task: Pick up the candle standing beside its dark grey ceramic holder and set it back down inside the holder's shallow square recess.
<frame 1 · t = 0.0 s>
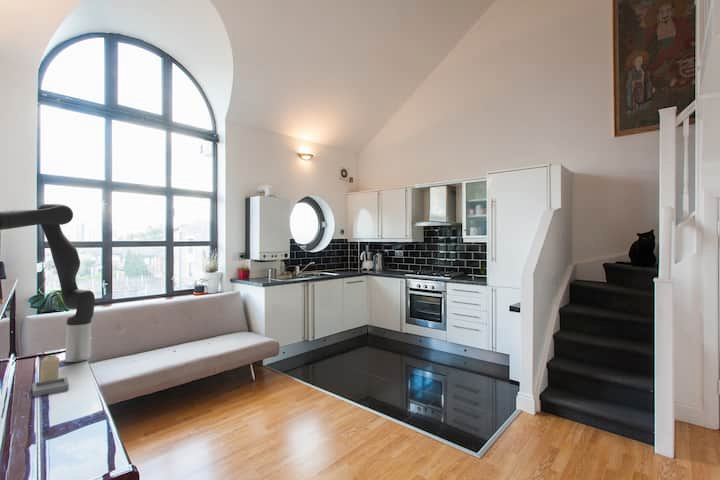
candle: (49, 381, 143), on the table
holder: (50, 389, 135), on the table
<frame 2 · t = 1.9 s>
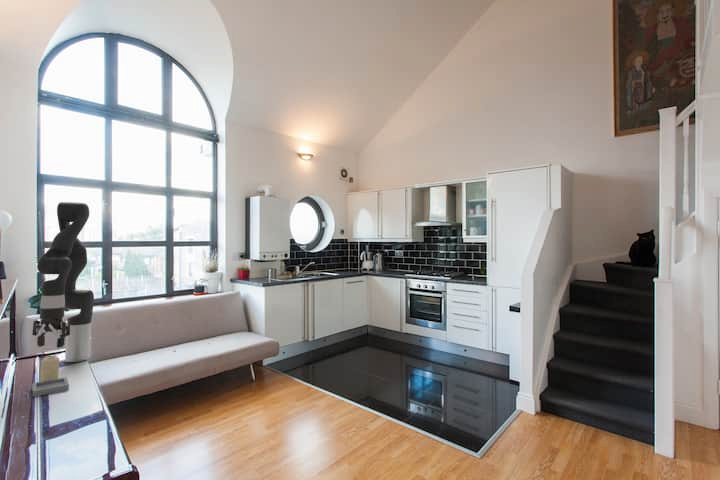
hand: (50, 346, 143), 14 cm above the table, tool pointing down, fingers open, 8 cm apart
nothing on the table moved.
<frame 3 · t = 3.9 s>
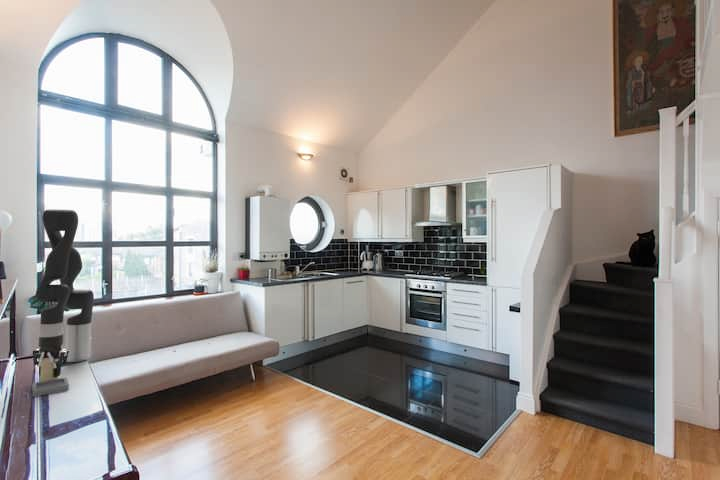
hand: (49, 376, 143), 2 cm above the table, tool pointing down, fingers closed on candle, 5 cm apart
candle: (49, 381, 143), on the table, touching gripper
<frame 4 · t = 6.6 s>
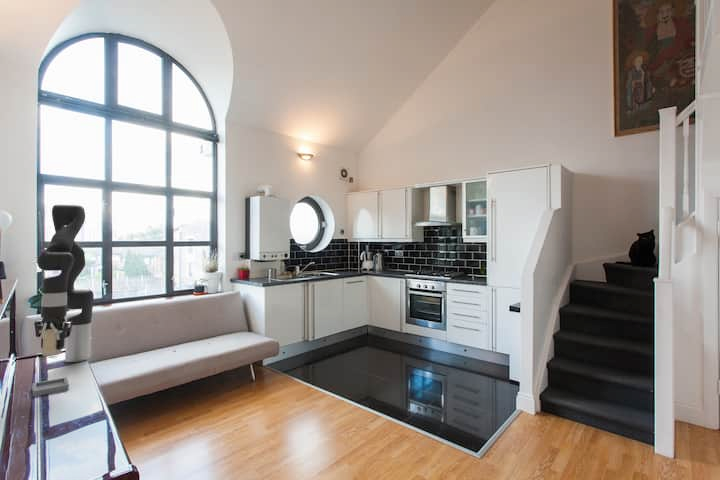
hand: (52, 348, 136), 15 cm above the table, tool pointing down, fingers closed on candle, 5 cm apart
candle: (51, 354, 136), point 13 cm above the table, touching gripper
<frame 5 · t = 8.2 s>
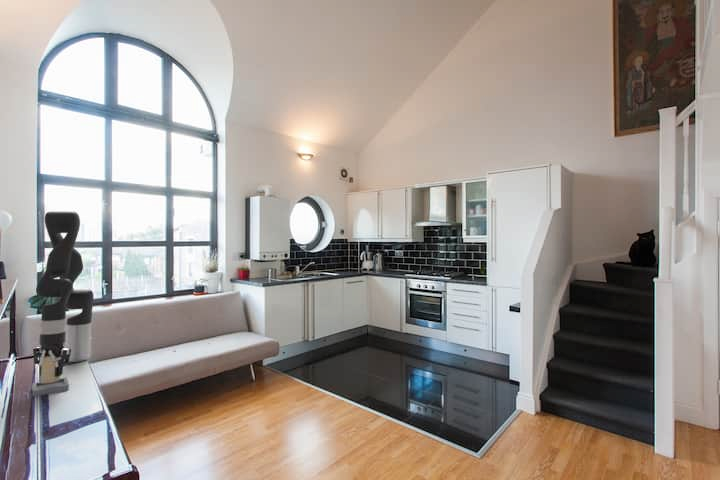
hand: (50, 375, 135), 5 cm above the table, tool pointing down, fingers closed on candle, 5 cm apart
candle: (50, 381, 135), point 3 cm above the table, touching gripper
when the fingers open (4 cm above the table, at t = 9.3 s): candle drops 1 cm, resting on holder.
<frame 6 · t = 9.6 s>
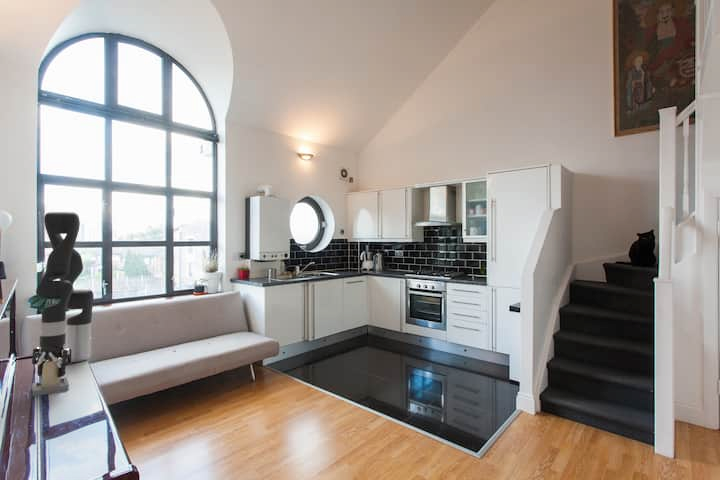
hand: (51, 375, 135), 5 cm above the table, tool pointing down, fingers open, 8 cm apart
candle: (50, 386, 135), point 1 cm above the table, touching holder
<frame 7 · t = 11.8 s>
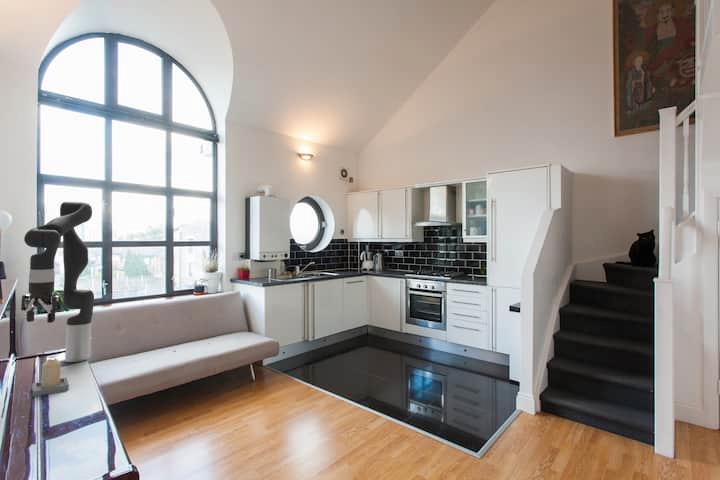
hand: (40, 321, 139), 25 cm above the table, tool pointing down, fingers open, 8 cm apart
nothing on the table moved.
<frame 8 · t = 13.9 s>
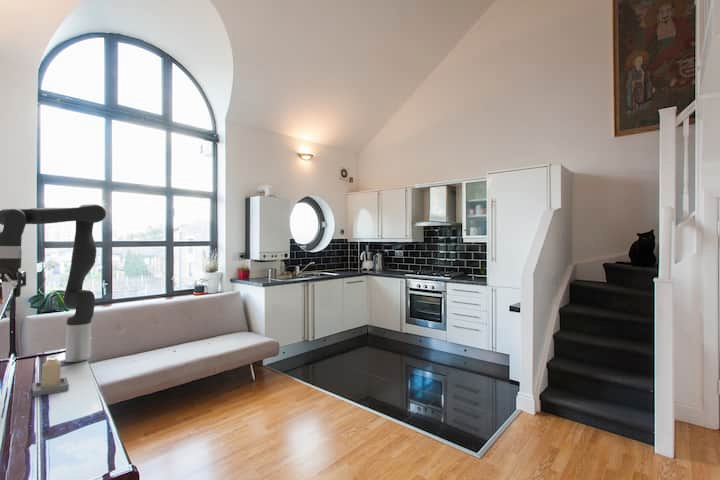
hand: (6, 296, 146), 33 cm above the table, tool pointing down, fingers open, 8 cm apart
nothing on the table moved.
at the end: candle 0.1 cm off-centre on the holder, point 0.8 cm above the holder's base; candle tilted 0°; the gripper is holding nothing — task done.
